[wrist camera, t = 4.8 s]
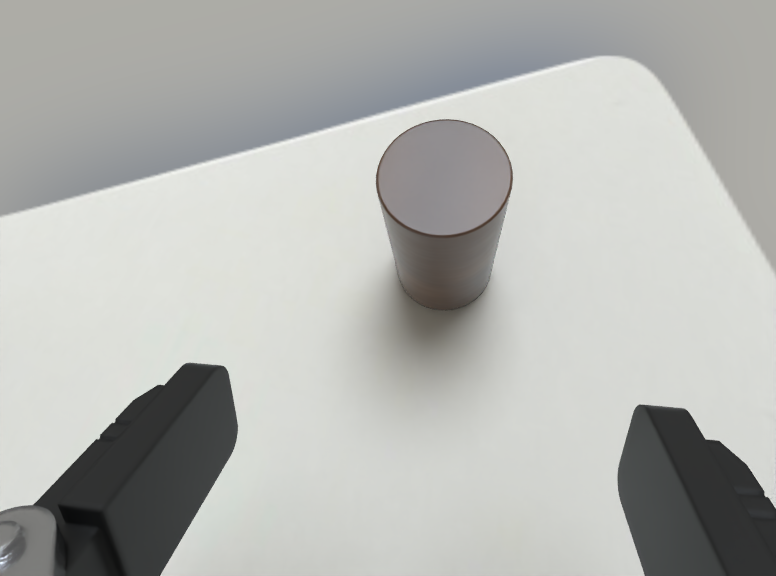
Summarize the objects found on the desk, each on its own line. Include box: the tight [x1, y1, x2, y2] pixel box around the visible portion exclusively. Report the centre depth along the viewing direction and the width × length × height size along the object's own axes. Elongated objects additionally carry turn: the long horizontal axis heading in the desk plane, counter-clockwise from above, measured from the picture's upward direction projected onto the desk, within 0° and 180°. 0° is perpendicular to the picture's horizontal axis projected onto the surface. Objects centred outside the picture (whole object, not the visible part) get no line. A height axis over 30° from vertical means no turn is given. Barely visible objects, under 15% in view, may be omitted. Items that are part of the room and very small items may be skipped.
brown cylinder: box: [376, 119, 513, 310], centre depth 20 cm, size 4×4×8 cm
